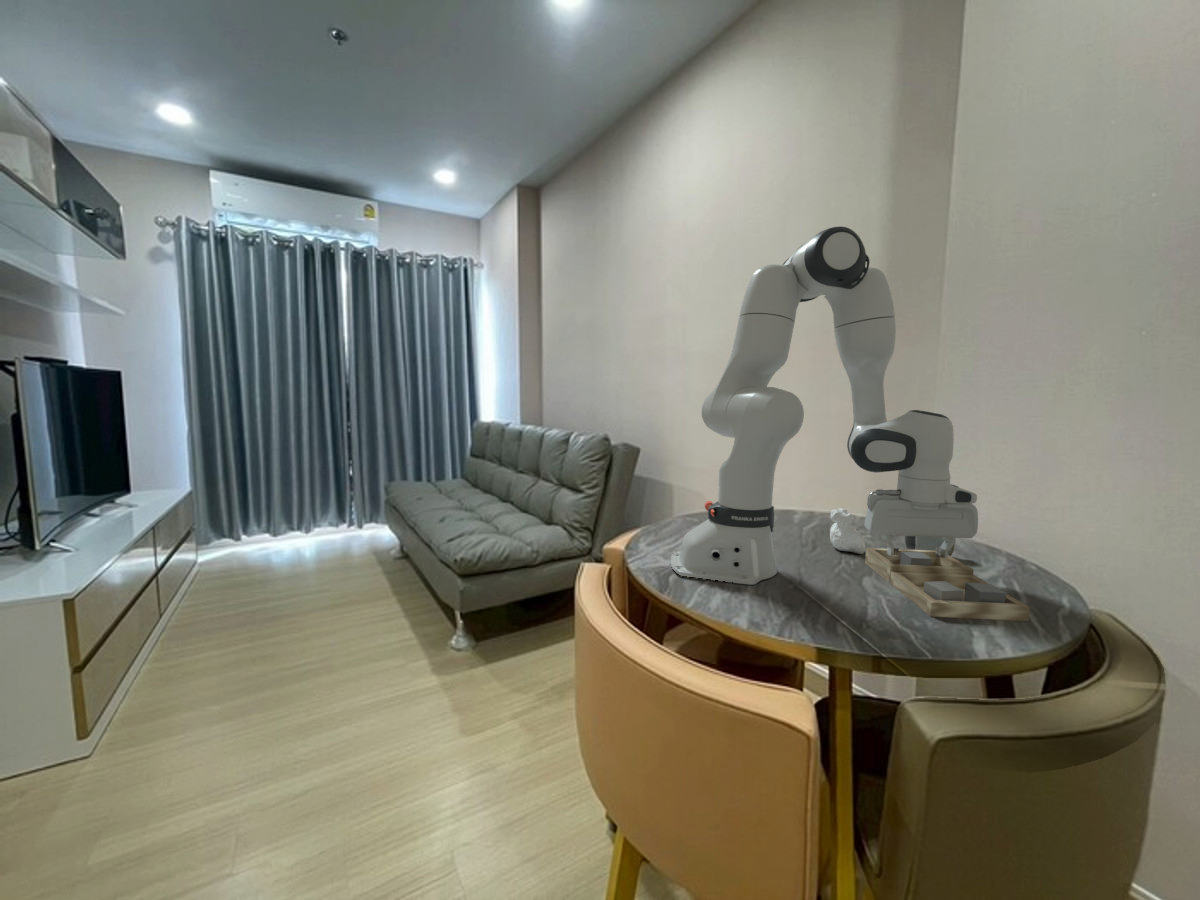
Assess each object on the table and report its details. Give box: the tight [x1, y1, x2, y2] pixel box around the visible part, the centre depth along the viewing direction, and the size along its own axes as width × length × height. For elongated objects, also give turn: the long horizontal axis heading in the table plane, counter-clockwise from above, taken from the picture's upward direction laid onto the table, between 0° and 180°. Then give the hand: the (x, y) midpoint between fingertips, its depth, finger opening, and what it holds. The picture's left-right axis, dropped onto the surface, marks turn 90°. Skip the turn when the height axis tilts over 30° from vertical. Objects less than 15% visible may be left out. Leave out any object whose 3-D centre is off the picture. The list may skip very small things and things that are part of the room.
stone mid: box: [900, 551, 932, 566], centre depth 101 cm, size 4×4×4 cm
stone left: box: [924, 581, 964, 601], centre depth 85 cm, size 4×4×4 cm
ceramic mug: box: [904, 536, 956, 557], centre depth 115 cm, size 11×8×8 cm
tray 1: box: [864, 547, 974, 584], centre depth 101 cm, size 15×11×4 cm
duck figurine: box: [829, 507, 866, 555], centre depth 118 cm, size 12×8×11 cm
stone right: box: [964, 583, 1007, 603], centre depth 84 cm, size 4×4×4 cm
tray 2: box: [889, 572, 1031, 622], centre depth 88 cm, size 15×14×3 cm
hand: (916, 556), depth 100 cm, fingers open, 8 cm apart
